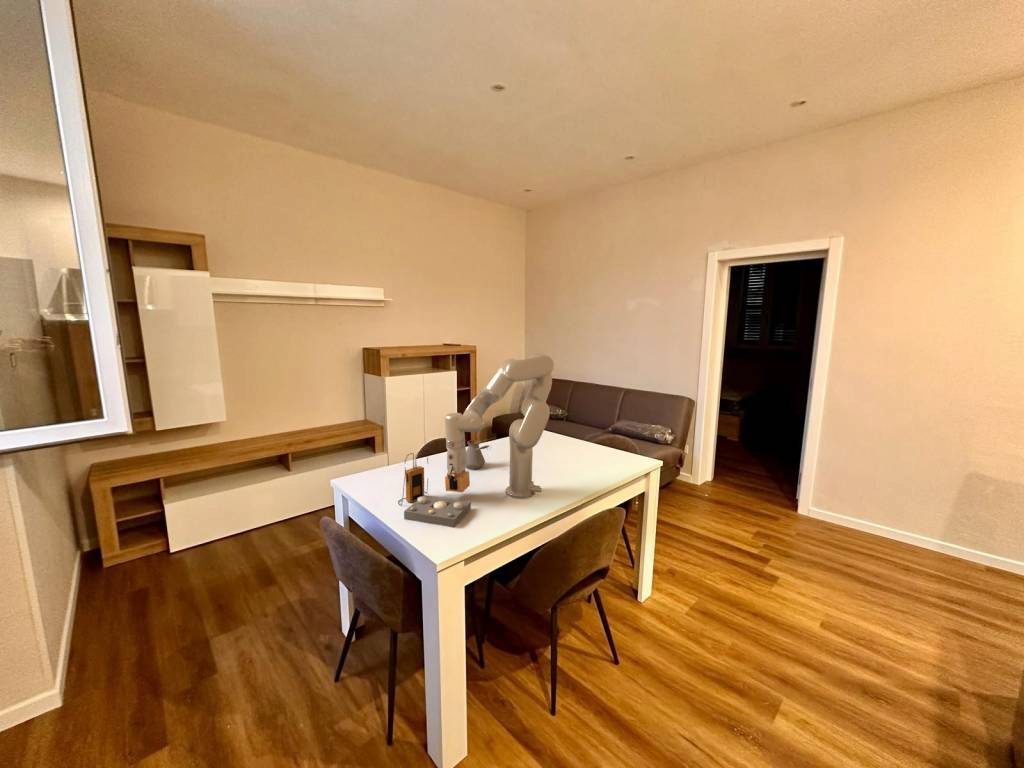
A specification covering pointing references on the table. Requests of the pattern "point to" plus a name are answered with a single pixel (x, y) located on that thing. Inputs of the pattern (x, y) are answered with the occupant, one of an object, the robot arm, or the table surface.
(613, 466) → the table surface
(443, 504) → the button
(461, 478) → the orange block
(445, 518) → the grey flat block
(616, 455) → the table surface
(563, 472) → the table surface
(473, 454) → the coffee pot
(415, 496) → the multimeter
